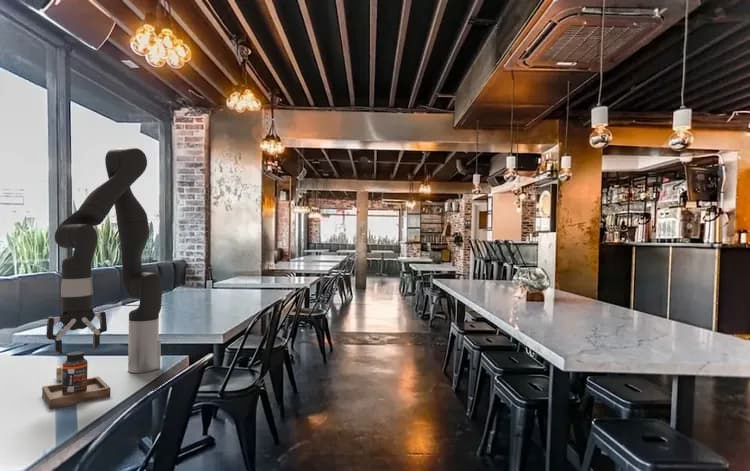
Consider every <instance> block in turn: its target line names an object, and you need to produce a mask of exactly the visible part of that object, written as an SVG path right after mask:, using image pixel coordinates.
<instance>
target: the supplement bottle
mask: <svg viewBox="0 0 750 471" xmlns="http://www.w3.org/2000/svg"><path fill="white" fill-rule="evenodd" d="M84 356H85V352H84V351H72V352H68V353H67V354H66V360H65V361H64V362H63V363H62V365H63V371H62V394H63V395H71V394H76V393H81V392H85V391H86V390H87V379H88V362H89V361H88V360H87V359H86V358H85V357H84Z"/></svg>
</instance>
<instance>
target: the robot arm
mask: <svg viewBox="0 0 750 471" xmlns="http://www.w3.org/2000/svg"><path fill="white" fill-rule="evenodd" d="M105 154H106V155H105V158H104V162H105V169H106V173H107V177H108V179H107V180H106V181H105V182H103V183H102V184H101V185H98V186H97V187H96V188H95V189H94V190H92V191H91V193H89V194H88V196H87V197H86V198H85V199H84V201H83V202H82V204H81V205H80V207H79V208H77V210H76V211H75V212H73V213H72V214H70V215H69V216H68V217H67V218H66V219H64V221H61V223H60V224H59V225H58V226H57V228H56V230H55V233H54V241H55V243H56V245H57V246H59V247H60V248H62V249H73V250H74V251H73V254H72V255H71V256H69V257H66V258H64V259H63V260H62V261H61V286H60V307H61V308H60V310H61V313H60V315H59V316H48V317H47V319H46V335H45V336H46V339H47V340H49V341H50V340H52V341H54V351H55V352H56V353H58V355H61V354H63V341H62V338H63V337H64V336H65V335H66V334H67V332H69V331H76V330H85V329H86V328H88V329H89V330H90V331H91V332H92V333H93V334H92V348H94V349H97V348H98V347H99V346H100V344H101V340H100V339H101V334H102V333H105V332H107V330H108V324H107V314H106V312H105V311H104V310H99V311H98V312H96V311H95V312H94V289H93V280H92V262H93V259H94V256H95V252H96V248H97V246H98V245H97V244H98V240H99V238H98V232H97V229H95V227H96V226H99V225H101V224H103V222H104V220H105V219H106V217H107V216H108V214H109V212H110V211H111V210H112V209H113V207H114V209H115V217H116V225H117V233H118V238H119V244H120V252H121V261H122V262H121V264H122V266H121V267H122V287H123V290H124V294H125V295H126V296H127V297H128V298H129V299H134V300H139V305H138V307H136V308H135V309H133V310H130V311H129V313H128V350H127V351H128V353H127V355H128V356H127V357H128V358H127V360H128V361H127V362H128V363H127V364H128V365H127V368H128V369H127V370H128V373H133V374H136V373H137V374H141V373H147V372H148V373H149V372H152V371H155V370H158V369H161V354H162V353H161V350H162V349H161V343H162V341H161V340H160V339H159V337H160V335H159V334H160V332H159V331H160V330H159V329H160V321H159V320H160V312H161V309H162V304H163V303H162V300H163V281H162V278H161V276H160V275H159V274H157V273H155V272H144V271H143V264H142V259H143V258H142V257H143V253H144V249H145V248H146V245H147V243H148V241H149V236H150V226H149V225H150V224H149V219H148V218H149V217H148V215H147V212H146V210H145V208H144V207H143V206H142V204H141V203H140V202H139V200H138V199H137V198H136V196H135V195H134V193H133V191H132V187H131V186H133V184H134V183H136V181H137V180H138V179H139V178H140V177H141V176H142V175H143V174H144V173H145V171H146V169H147V166H148V158H147V155H146V154H145V152H144V151H143V150H142V149H140V148H138V147H122V148H120V147H119V148H112V149H109V150H108V151H107V152H106V153H105ZM95 318H97V319H98V320H99V328H97V327H96V326H95V325H94V324H93V323H92V321H93V320H94V319H95ZM58 322H61V324H62V325H61V327H60V328H59V329H58V331H57V332H56V333H55V334H54V327H55V326H56V325H57V324H58Z"/></svg>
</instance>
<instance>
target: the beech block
mask: <svg viewBox="0 0 750 471" xmlns="http://www.w3.org/2000/svg"><path fill="white" fill-rule="evenodd" d="M61 368H63V364H57V365H56V371H55V372H56V379H55V380H56V381H61Z"/></svg>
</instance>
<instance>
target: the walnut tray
mask: <svg viewBox="0 0 750 471" xmlns="http://www.w3.org/2000/svg"><path fill="white" fill-rule="evenodd" d="M41 392H42V393H41V395H42V398H43V399H44V401H45V403H46V405H47V406H48V408H49V410H52V409H56V408H58V409H59V408H62V407H67V406H72V405H77V404H81V403H85V402H90V401H91V402H92V401H95V400H99V399H106V398H110V397H111V387H110V385H108V384H107V383H106V382H105V381H104V380H103V379H102V378H101V377H100V376H93V377H87V390H86V391H85V392H81V393H76V394H71V395H63V394H62V383H61V382H60V383H55V384H50V385H44V386H42V389H41Z"/></svg>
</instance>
